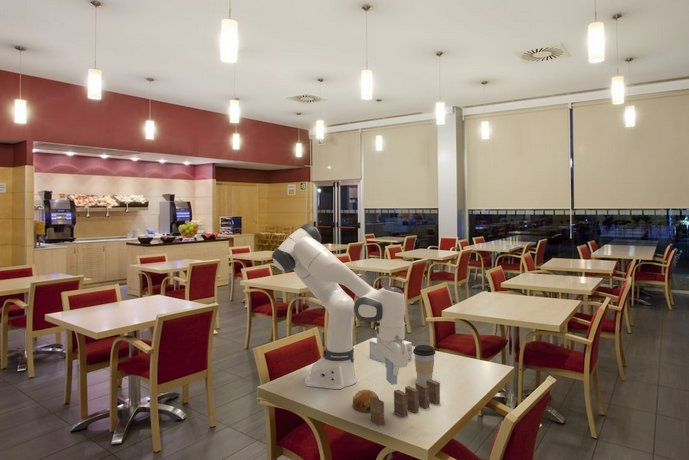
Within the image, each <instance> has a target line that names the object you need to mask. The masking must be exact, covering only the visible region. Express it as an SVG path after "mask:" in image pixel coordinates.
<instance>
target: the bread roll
mask: <svg viewBox="0 0 689 460" xmlns="http://www.w3.org/2000/svg"><path fill="white" fill-rule="evenodd" d="M373 397H376V398H377V399H379V396H378V395H377V393H376V392H374V391H373V390H370V389H361V390H358V392H356V393H355V394H354V396H352V404H353V407H354V409H355V410H357V411H358V412H362V413H371V411H370V398H373ZM379 400H380V399H379Z"/></svg>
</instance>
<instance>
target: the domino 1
mask: <svg viewBox="0 0 689 460" xmlns="http://www.w3.org/2000/svg"><path fill="white" fill-rule="evenodd" d="M370 411H371V412H370V422H372V423H373V424H375V425H377V426H378V427H382V426H384V425H385V401H383V400H381V399H377V398H376V397H373V398H370Z"/></svg>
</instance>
